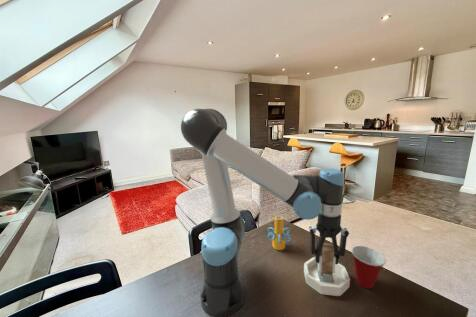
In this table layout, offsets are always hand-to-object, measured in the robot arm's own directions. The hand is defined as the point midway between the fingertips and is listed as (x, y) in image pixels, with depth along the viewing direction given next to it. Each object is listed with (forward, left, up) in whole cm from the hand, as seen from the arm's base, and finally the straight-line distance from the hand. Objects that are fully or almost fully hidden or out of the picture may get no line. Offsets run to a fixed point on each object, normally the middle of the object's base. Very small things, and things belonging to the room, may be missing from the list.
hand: (326, 269), depth 80 cm
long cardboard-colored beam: (0, 0, -2) cm, 2 cm away
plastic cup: (+14, 0, -4) cm, 15 cm away
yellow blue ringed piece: (-17, +18, -4) cm, 25 cm away
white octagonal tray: (0, 0, -4) cm, 4 cm away
